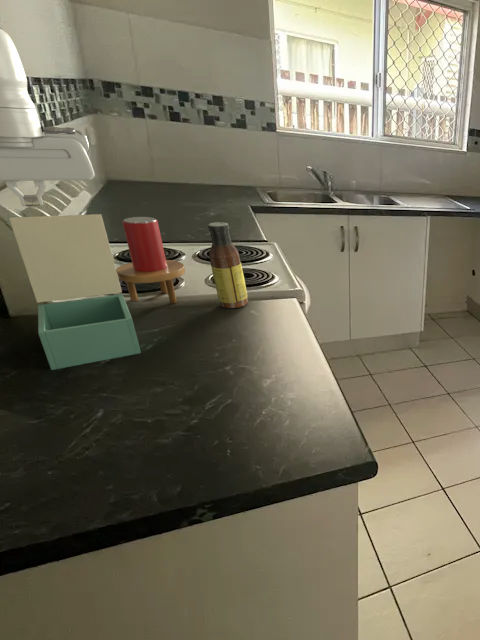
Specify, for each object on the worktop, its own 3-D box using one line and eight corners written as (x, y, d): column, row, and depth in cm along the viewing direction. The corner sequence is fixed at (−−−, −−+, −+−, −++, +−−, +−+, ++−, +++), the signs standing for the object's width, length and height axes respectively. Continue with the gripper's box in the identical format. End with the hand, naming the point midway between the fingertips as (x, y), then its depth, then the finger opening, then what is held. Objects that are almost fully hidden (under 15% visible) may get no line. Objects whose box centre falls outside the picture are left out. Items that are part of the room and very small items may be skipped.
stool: (110, 303, 110) (100, 270, 107) (160, 286, 122) (153, 256, 118) (155, 313, 107) (147, 279, 104) (202, 295, 119) (197, 265, 116)
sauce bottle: (244, 298, 120) (233, 219, 111) (251, 307, 116) (240, 225, 107) (215, 302, 116) (200, 221, 107) (221, 311, 112) (206, 227, 103)
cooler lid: (101, 214, 91) (100, 214, 91) (8, 217, 83) (9, 217, 84) (122, 292, 96) (121, 291, 96) (36, 302, 88) (37, 302, 89)
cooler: (141, 356, 90) (132, 319, 87) (52, 373, 82) (38, 333, 79) (131, 328, 100) (122, 294, 96) (50, 342, 92) (37, 304, 88)
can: (126, 268, 109) (114, 219, 104) (152, 262, 115) (141, 215, 110) (149, 273, 108) (137, 224, 103) (174, 266, 113) (164, 219, 109)
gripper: (83, 126, 91) (103, 200, 97) (-79, 119, 78) (-45, 204, 84) (85, 129, 87) (106, 206, 93) (-85, 122, 74) (-49, 211, 80)
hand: (33, 205), depth 88 cm, fingers closed
